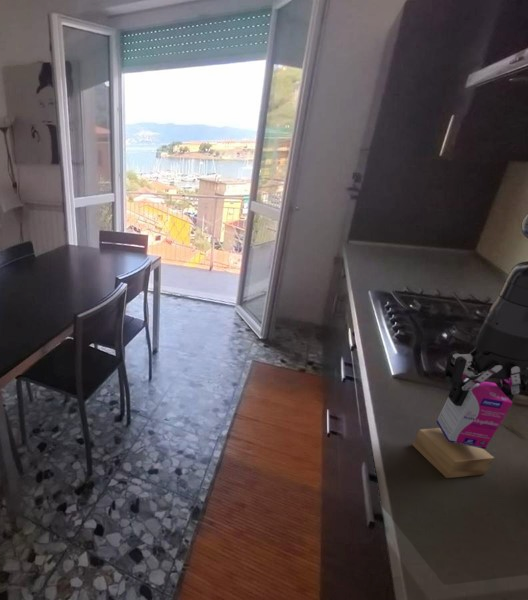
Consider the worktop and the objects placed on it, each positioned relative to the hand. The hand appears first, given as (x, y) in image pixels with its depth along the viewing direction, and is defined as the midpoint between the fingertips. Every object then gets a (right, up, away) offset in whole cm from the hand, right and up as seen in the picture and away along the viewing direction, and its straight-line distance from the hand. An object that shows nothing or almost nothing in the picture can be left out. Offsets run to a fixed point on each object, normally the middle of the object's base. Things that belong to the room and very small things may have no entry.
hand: (475, 404), depth 65 cm
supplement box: (0, -7, +3) cm, 8 cm away
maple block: (0, -13, +6) cm, 14 cm away
